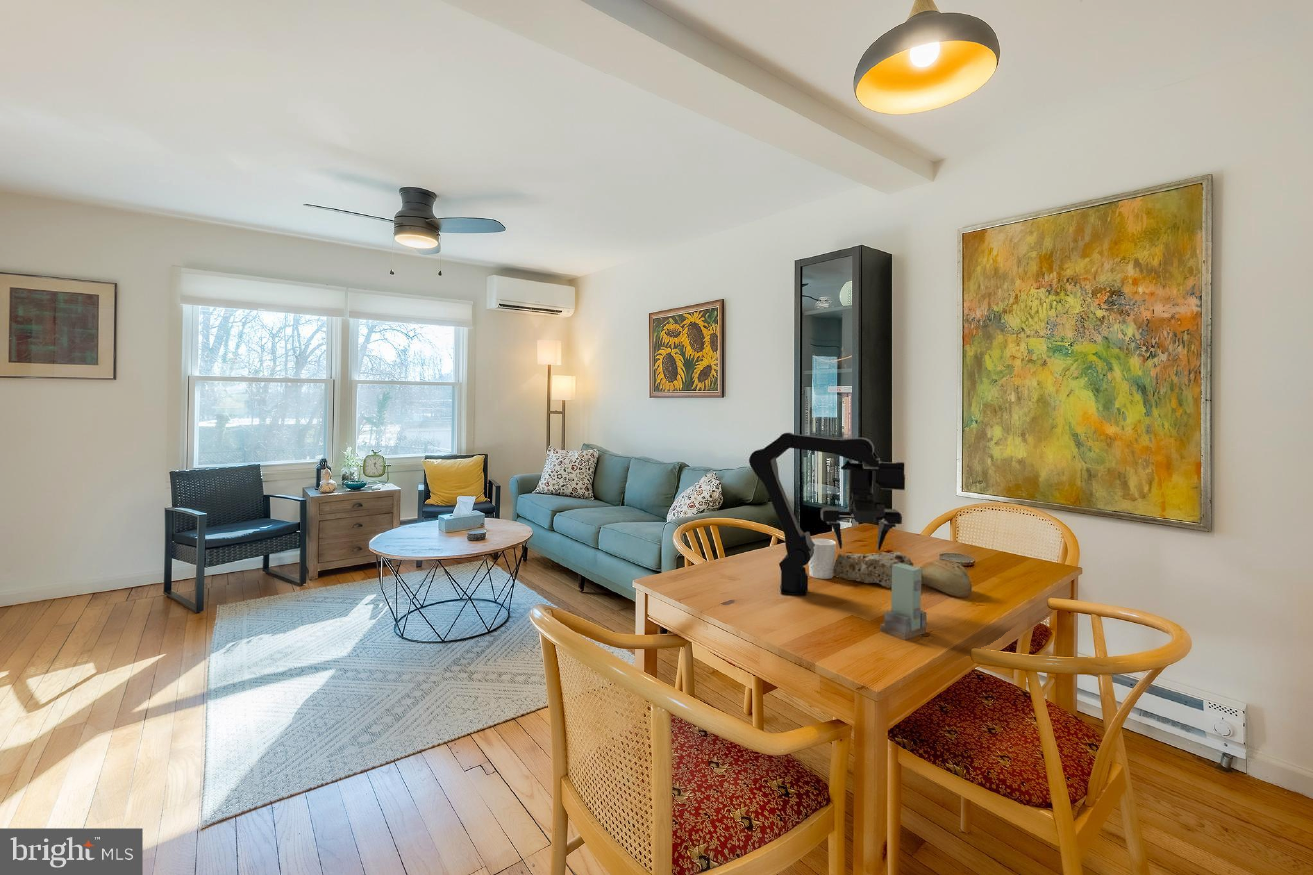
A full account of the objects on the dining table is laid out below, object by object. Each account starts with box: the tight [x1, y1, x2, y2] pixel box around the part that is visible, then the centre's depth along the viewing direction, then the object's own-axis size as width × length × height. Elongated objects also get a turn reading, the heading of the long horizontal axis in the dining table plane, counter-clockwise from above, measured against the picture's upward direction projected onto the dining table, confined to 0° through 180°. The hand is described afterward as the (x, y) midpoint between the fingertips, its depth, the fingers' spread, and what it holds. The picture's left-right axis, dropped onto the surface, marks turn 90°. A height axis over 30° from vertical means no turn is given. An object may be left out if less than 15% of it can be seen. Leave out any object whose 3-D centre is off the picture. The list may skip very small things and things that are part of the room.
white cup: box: [808, 538, 837, 580], centre depth 167 cm, size 8×8×10 cm
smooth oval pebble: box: [919, 558, 973, 598], centre depth 154 cm, size 10×15×8 cm, turn 26°
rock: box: [834, 551, 914, 589], centre depth 164 cm, size 21×14×10 cm
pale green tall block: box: [890, 563, 922, 631], centre depth 125 cm, size 5×3×13 cm, turn 33°
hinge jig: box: [879, 610, 928, 641], centre depth 126 cm, size 6×8×4 cm
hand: (859, 549), depth 146 cm, fingers open, 9 cm apart
